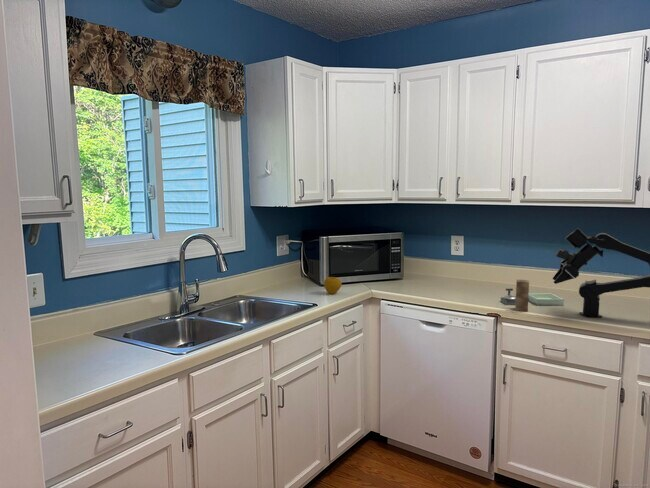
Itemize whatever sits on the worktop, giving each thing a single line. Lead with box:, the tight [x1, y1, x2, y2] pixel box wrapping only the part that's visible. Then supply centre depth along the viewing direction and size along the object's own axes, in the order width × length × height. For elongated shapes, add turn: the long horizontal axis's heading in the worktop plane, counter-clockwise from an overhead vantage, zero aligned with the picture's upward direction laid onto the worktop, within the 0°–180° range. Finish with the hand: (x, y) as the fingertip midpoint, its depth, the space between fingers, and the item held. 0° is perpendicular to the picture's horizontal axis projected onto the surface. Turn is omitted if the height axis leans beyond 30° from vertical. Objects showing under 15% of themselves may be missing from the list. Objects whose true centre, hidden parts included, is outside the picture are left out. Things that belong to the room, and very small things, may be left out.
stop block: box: [514, 279, 530, 313], centre depth 209 cm, size 5×5×13 cm
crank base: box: [500, 296, 516, 306], centre depth 222 cm, size 7×7×2 cm
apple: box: [323, 276, 342, 295], centre depth 242 cm, size 9×9×9 cm
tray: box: [528, 292, 565, 307], centre depth 223 cm, size 12×12×3 cm
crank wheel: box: [503, 288, 516, 300], centre depth 221 cm, size 6×6×4 cm
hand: (553, 281), depth 204 cm, fingers open, 9 cm apart
